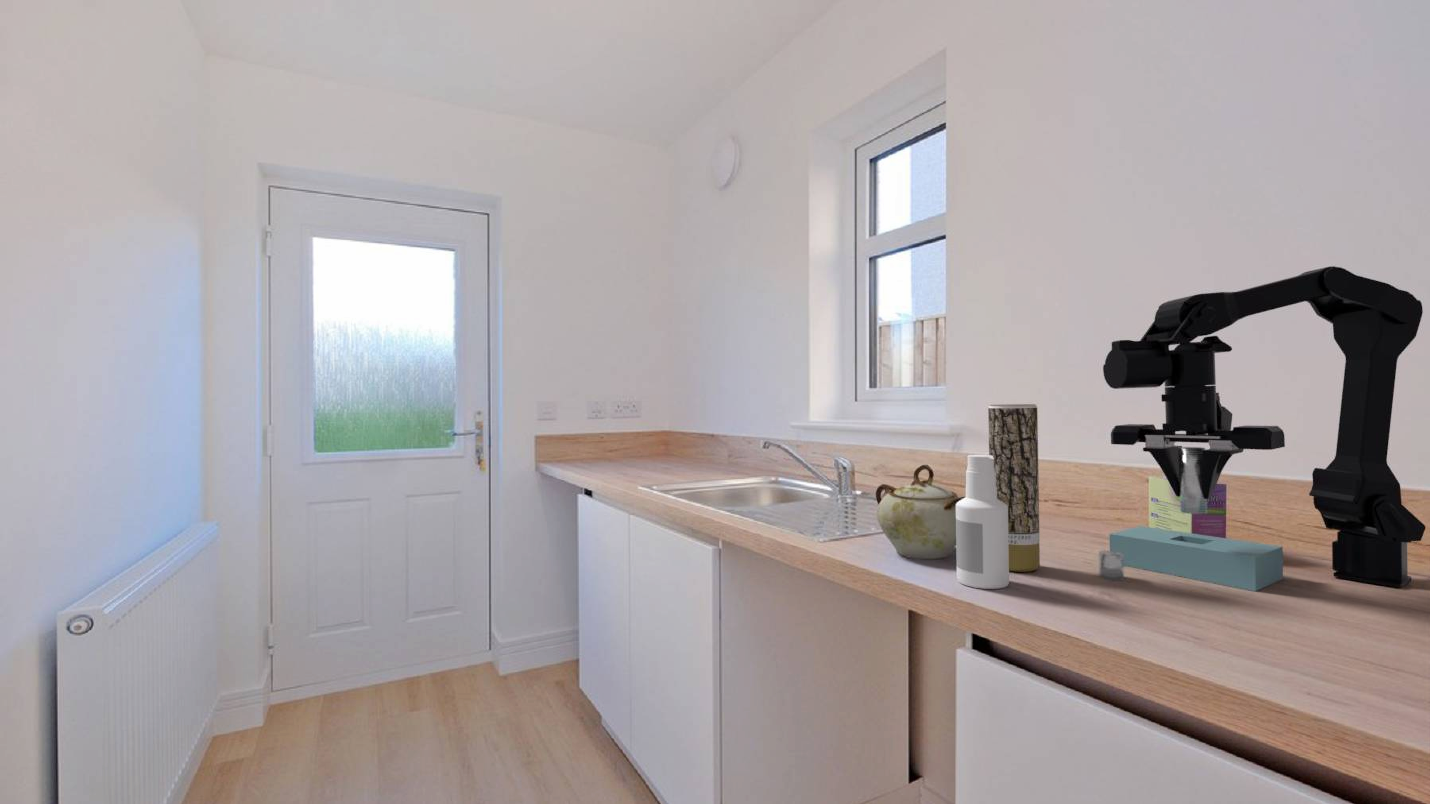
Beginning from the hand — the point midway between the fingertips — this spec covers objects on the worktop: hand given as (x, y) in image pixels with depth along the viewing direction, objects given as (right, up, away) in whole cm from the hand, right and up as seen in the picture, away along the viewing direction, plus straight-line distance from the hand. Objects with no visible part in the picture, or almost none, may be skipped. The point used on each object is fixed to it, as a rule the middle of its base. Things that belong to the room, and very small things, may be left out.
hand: (1193, 497), depth 88 cm
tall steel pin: (0, -2, 0) cm, 2 cm away
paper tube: (-21, -12, +8) cm, 26 cm away
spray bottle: (-29, -12, +1) cm, 32 cm away
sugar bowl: (-32, -12, +18) cm, 39 cm away
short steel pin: (-10, -12, +2) cm, 16 cm away
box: (+12, -12, +18) cm, 24 cm away
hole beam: (+4, -12, +5) cm, 13 cm away
